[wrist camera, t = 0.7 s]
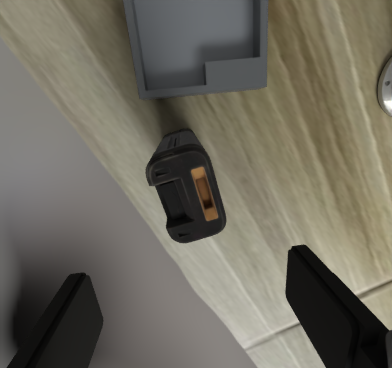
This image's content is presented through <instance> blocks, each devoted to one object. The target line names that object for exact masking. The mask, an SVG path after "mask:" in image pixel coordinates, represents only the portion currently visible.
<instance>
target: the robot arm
mask: <svg viewBox="0 0 392 368" xmlns="http://www.w3.org/2000/svg"><path fill="white" fill-rule="evenodd" d="M378 100H379V103H380V106H381V107H382V109H383V110H384V112H386V113H387V114H388V115H389V116H391V117H392V57H391V58H390V60H389V61H388V62H387V64H386V66H385V67H384V69H383V71H382V74H381V76H380V80H379V84H378ZM285 293H286V298H287V301H288V303H289V304H290V306H291V308H292V309H293V311H294V313H295V315H296V316H297V318H298V320H299V322H300V323H301V325H302V327H303V329H304V330H305V332H306V334H307V336H308V337H309V339H310V341H311V342H312V344H313V346H314V348H315V349H316V351H317V353H318V355H319V356H320V358H321V360H322V362H323V363H324V365H325V367H326V368H392V330H390V331H389V330H388V329H387V328H386V327H385V325H384V324H383V323H382V322H381V321H380V320H379V319H378V318H377V317H376V316H375V315H374V314H373V313H372V312H371V311H370V310H369V309H368V308H367V307H366V306H365V305H364V304H363V303H362V302H361V301H360V300H359V298H358V297H357V296H356V295H355V294H354V293H353V292H352V291H351V290H350V289H349V288H348V287H347V286H346V285H345V284H344V283H343V282H342V281H341V280H340V279H339V278H338V277H337V276H336V275H335V274H334V273H332V272H331V271H330V270H329V269H328V267H327V266H326V265H325V264H324V263H323V262H322V261H321V260H320V259H319V258H318V257H317V256H316V255H315V254H314V253H313V252H312V251H311V250H310V249H309V248H308V247H307V246H306V245H297V246H292V248H291V250H289V251H288V262H287V277H286V292H285ZM102 326H103V316H102V313H101V310H100V307H99V304H98V301H97V298H96V294H95V291H94V288H93V286H92V282H91V279H90V277H89V276H88V275H86V274H85V273H76V274H70V275H69V276H68V277H67V279H66V280H65V282H64V283H63V285H62V286H61V288H60V289H59V291H58V292H57V294H56V295H55V297H54V298H53V300H52V301H51V303H50V304H49V306H48V307H47V308H46V310H45V311H44V313H43V314H42V316H41V317H40V319H39V320H38V322H37V323H36V325H35V326H34V328H33V329H32V331H31V332H30V334H29V335H28V337H27V338H26V340H25V341H24V343H23V345H22V346H21V347H20V349H19V350H18V352H17V353H16V355H15V356H14V358H13V359H12V361H11V362H10V364H9V365H8V367H7V368H88V366H89V363H90V360H91V358H92V355H93V352H94V349H95V346H96V343H97V341H98V338H99V335H100V332H101V329H102Z"/></svg>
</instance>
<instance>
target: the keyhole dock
mask: <svg viewBox="0 0 392 368" xmlns="http://www.w3.org/2000/svg"><path fill="white" fill-rule="evenodd" d="M123 3H124V9H125V15H126V21H127V26H128V32H129V38H130V44H131V50H132V56H133V62H134V68H135V74H136V80H137V86H138V92H139V98H140V99H142V100H151V99H162V98H172V97H183V96H194V95H204V94H215V93H225V92H236V91H246V90H257V89H261V88H264V87H267V32H268V0H123Z"/></svg>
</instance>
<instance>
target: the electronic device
mask: <svg viewBox="0 0 392 368" xmlns="http://www.w3.org/2000/svg"><path fill="white" fill-rule="evenodd" d="M146 178H147V181H148V184H149V186H155V187H156V190H157V192H158V195H159V198H160V200H161V203H162V205H163V208H164V210H165V213H166V216H167V224H166V229H167V231H168V233H169V235H170V237H171V238H172V239H173V240H175V241H176V242H179V243H189V242H193V241H196V240H200V239H203V238H206V237H210V236H213V235H216V234H218V233H220V232H221V231H222V230H223V229H224V227H225V225H226V214H225V210H224V206H223V203H222V199H221V196H220V192H219V188H218V185H217V181H216V178H215V174H214V170H213V167H212V163H211V160H210V157H209V156H208V154H207V152H206V151H205V149H204V148H203V146H202V145H201V143H200V142H199V140H198V139H197V137H196V136H195V134H194V133H193V132H192V131H191V130H190V129H182V130H178V131H175V132H172V133H169V134H167V135H165V136H164V138H163V139H162V141H161V143H160V144H159V146H158V148H157V149H156V151H155V153H154V154H153V156H152V158H151V159H150V161H149V163H148V165H147V167H146Z"/></svg>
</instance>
